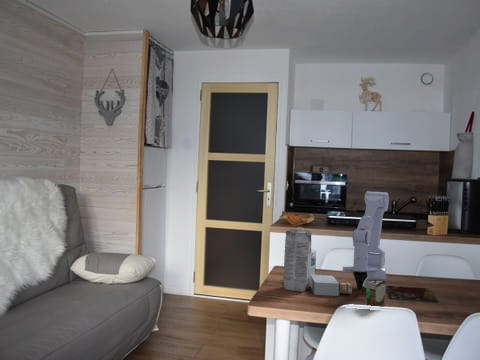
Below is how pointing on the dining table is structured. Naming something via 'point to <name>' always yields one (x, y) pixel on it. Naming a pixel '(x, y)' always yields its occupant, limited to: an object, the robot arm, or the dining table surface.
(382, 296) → the food container
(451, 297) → the dining table surface
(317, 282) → the block
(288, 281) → the juice carton
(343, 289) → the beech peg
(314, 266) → the syrup box
